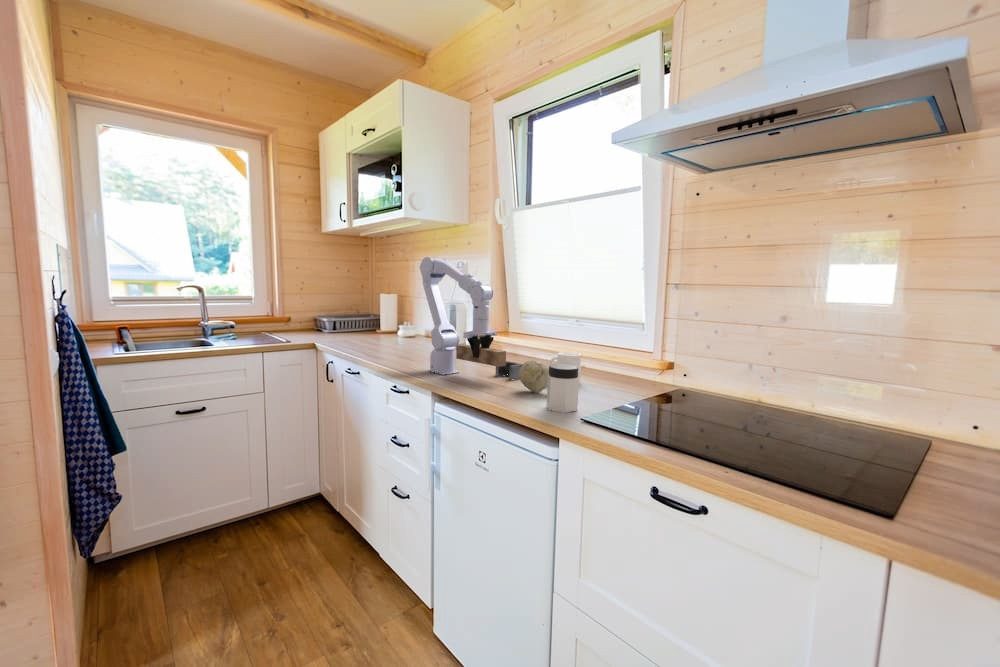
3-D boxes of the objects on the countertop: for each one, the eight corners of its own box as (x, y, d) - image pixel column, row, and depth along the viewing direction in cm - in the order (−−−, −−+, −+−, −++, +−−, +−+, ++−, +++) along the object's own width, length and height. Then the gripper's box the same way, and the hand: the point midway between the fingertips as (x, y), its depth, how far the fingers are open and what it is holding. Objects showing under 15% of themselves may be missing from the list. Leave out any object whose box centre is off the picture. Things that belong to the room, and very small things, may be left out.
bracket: (494, 375, 165) (494, 362, 165) (506, 373, 170) (507, 360, 170) (513, 380, 158) (514, 366, 158) (526, 377, 163) (527, 364, 163)
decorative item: (512, 391, 143) (513, 360, 142) (528, 386, 149) (529, 357, 148) (542, 398, 135) (543, 365, 134) (558, 393, 141) (559, 362, 140)
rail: (456, 358, 164) (456, 345, 164) (463, 357, 167) (463, 344, 166) (498, 366, 149) (499, 352, 148) (505, 365, 151) (506, 351, 151)
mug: (543, 380, 160) (544, 352, 159) (555, 377, 167) (556, 350, 166) (572, 385, 153) (573, 356, 152) (583, 382, 159) (585, 353, 158)
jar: (564, 403, 130) (565, 363, 128) (583, 410, 123) (585, 367, 122) (540, 407, 125) (541, 365, 124) (559, 414, 118) (561, 370, 117)
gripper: (473, 320, 148) (472, 360, 150) (503, 319, 159) (502, 356, 160) (459, 319, 153) (458, 357, 155) (489, 317, 163) (488, 353, 165)
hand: (479, 356), depth 158 cm, fingers closed on rail, 3 cm apart
